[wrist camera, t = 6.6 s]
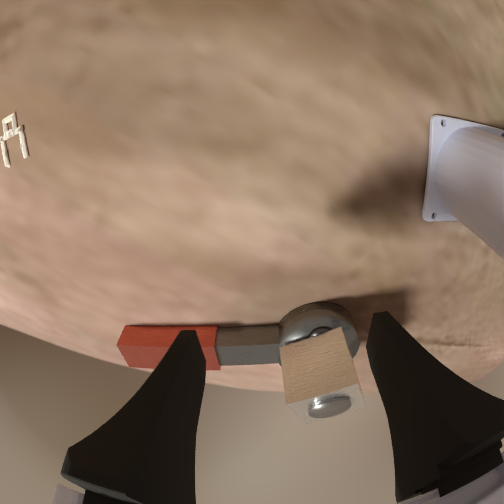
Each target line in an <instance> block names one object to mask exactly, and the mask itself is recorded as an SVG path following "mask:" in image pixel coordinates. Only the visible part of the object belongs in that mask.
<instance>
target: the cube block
mask: <svg viewBox="0 0 504 504" xmlns="http://www.w3.org/2000/svg"><path fill="white" fill-rule="evenodd" d="M280 357H281V365H282V374H283V383H284V391H285V400H286V405H287V406H288V407H289V408H290V409H291V410H292V411H293V412H294V413H295V414H296V415H297V416H298V417H300V418H301V419H302V420H303V421H304V422H305V423H306V424H308V423H312V422H316V421H319V420H323V419H327V418H330V417H334V416H337V415H340V414H343V413H346V412H350V411H353V410H356V409H359V408H362V407H365V406H366V405H365V401H364V397H363V394H362V390H361V386H360V383H359V379H358V376H357V372H356V369H355V365H354V362H353V359H352V356H351V353H350V350H349V347H348V344H347V341H346V339H345V336H344V333H343V330H342V328H341V327H339V328H336V329H333V330H331V331H328V332H325V333H322V334H319V335H317V336H314V337H311V338H308V339H305V340H302V341H299V342H296V343H293V344H290V345H287V346H283V347H280Z"/></svg>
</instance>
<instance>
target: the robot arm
mask: <svg viewBox="0 0 504 504" xmlns="http://www.w3.org/2000/svg"><path fill="white" fill-rule="evenodd" d="M442 120H443V125H441V121H442ZM501 135H502V137H501ZM433 213H434V215H433V216H432V214H433ZM422 218H423V219H424V220H425V221H427V222H433V221H460V222H462V223H463V224H464V225H465V226H466V227H468V228H469V229H470V230H471V231H472V232H474V233H475V234H476V235H477V236H478V237H479V238H481V239H482V240H483V241H484V242H485V243H486V244H487V245H488V246H489V247H491V248H492V249H493V250H494V251H495V252H496V253H497V254H498V255H499V256H500V257H501V258H502V259H503V260H504V130H502V129H498V128H495V127H491V126H487V125H483V124H479V123H475V122H470V121H466V120H461V119H456V118H451V117H446V116H440V115H433V116H432V117H431V119H430V141H429V157H428V169H427V179H426V188H425V196H424V203H423V210H422ZM366 349H367V354H368V358H369V362H370V367H371V370H372V373H373V375H374V378H375V381H376V384H377V387H378V390H379V393H380V395H381V398H382V401H383V404H384V407H385V410H386V414H387V418H388V423H389V428H390V434H391V439H392V446H393V455H394V465H395V496H396V501H397V504H504V452H502V453H501V452H500V448H501V447H502V442H501V439H502V438H504V400H502V399H499V398H497V397H495V396H492V395H490V394H488V393H486V392H484V391H482V390H481V389H479V388H477V387H475V386H473V385H472V384H470V383H469V382H467V381H465V380H464V379H462V378H461V377H459V376H458V375H456V374H455V373H454V372H452V371H451V370H450V369H448V368H447V367H446V366H444V365H443V364H442V363H441V362H439V361H438V360H437V359H436V358H435V357H434V356H432V355H431V354H430V353H429V352H428V351H427V350H426V349H425V348H423V347H422V346H421V345H420V344H419V343H418V342H417V341H416V340H415V339H414V338H413V337H412V336H411V335H410V334H409V333H408V332H407V331H406V330H405V329H404V328H403V327H402V326H401V325H400V324H399V323H398V322H397V321H396V320H395V319H394V318H393V317H392V316H391V315H390V314H389V313H388V312H387V311H385V312H379V313H374V314H373V318H372V323H371V327H370V332H369V336H368V340H367V344H366ZM205 376H206V359H205V356H204V353H203V351H202V348H201V345H200V342H199V339H198V336H197V333H196V330H181V331H180V332H179V333H178V335H177V336H176V338H175V340H174V341H173V343H172V344H171V346H170V347H169V349H168V350H167V352H166V354H165V355H164V357H163V358H162V359H161V361H160V362H159V364H158V365H157V367H156V368H155V369H154V371H153V372H152V374H151V375H150V376H149V377H148V379H147V380H146V381H145V383H144V384H143V385H142V386H141V388H140V389H139V390H138V391H137V392H136V394H135V395H134V396H133V397H132V398H131V399H130V400H129V401H128V402H127V403H126V404H125V405H124V406H123V407H122V408H121V409H120V410H119V411H118V412H117V413H116V414H115V415H114V416H113V417H112V418H111V419H110V420H108V421H107V422H106V423H105V424H103V425H102V426H101V427H100V428H98V429H97V430H96V431H94V432H93V433H92V434H91V435H89V436H87V437H86V438H84V439H83V440H81V441H80V442H78V443H76V444H75V445H73V446H71V447H69V448H68V451H67V454H66V456H65V460H64V463H63V467H62V470H61V475H62V476H63V477H64V478H65V479H67V480H69V481H71V482H72V483H74V484H76V485H78V486H80V487H82V488H84V489H86V491H85V494H82V493H80V492H78V491H75V490H73V489H70V488H68V487H66V486H63V485H61V484H57V486H56V490H55V493H54V497H53V502H52V504H196V497H195V447H196V432H197V425H198V420H199V414H200V408H201V403H202V397H203V392H204V385H205ZM421 494H422V495H421ZM419 495H420V496H419ZM416 496H417V497H416ZM413 497H415V498H413ZM411 498H412V499H411ZM408 499H409V500H408ZM405 500H406V501H405ZM402 501H403V502H402ZM399 502H400V503H399Z"/></svg>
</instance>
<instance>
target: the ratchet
mask: <svg viewBox="0 0 504 504" xmlns="http://www.w3.org/2000/svg"><path fill="white" fill-rule="evenodd" d="M339 327H341V328H342V330H343V333H344V336H345V339H346V341H347V344H348V347H349V350H350V353H351V356H352V359H353V358H354V356H355V355H356V353H357V351H358V348H359V338H358V335H357V332H356V329H355V327H354V324H353V321H352V318H351V316H350V314H349V313H348V311H347V310H345V309H344V308H343V307H341V306H339V305H337V304H333V303H328V302H316V303H310V304H306V305H303V306H300V307H298V308H296V309H294V310H292V311H291V312H289V313H288V314H287V315H286V316H284V317H283V319H282V320H281V321H280V323H279V324H278V325H267V326H250V327H229V328H217V326H125V327H124V329H123V331H122V334H121V336H120V338H119V340H118V343H117V346H118V348H119V350H120V352H121V354H122V355H123V357H124V359H125V360H126V362H127V364H128V365H129V367H137V368H152V369H155V368H156V367H157V365H158V364H159V362H160V361H161V359H162V358H163V357H164V355H165V354H166V352H167V350H168V349H169V347H170V346H171V344H172V343H173V341H174V340H175V338H176V336H177V335H178V333H179V332H180V331H181V330H196V333H197V336H198V339H199V342H200V345H201V348H202V351H203V353H204V356H205V359H206V370H221V366H222V365H253V364H271V363H279V364H280V365H281V357H280V347H283V346H287V345H290V344H293V343H296V342H299V341H302V340H305V339H308V338H311V337H314V336H317V335H319V334H322V333H325V332H328V331H331V330H333V329H336V328H339ZM281 367H282V365H281Z"/></svg>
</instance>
